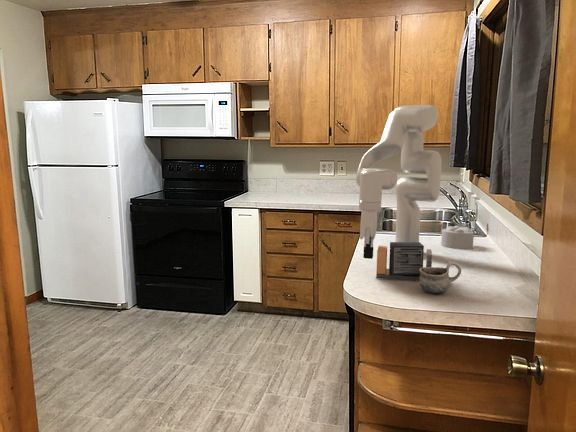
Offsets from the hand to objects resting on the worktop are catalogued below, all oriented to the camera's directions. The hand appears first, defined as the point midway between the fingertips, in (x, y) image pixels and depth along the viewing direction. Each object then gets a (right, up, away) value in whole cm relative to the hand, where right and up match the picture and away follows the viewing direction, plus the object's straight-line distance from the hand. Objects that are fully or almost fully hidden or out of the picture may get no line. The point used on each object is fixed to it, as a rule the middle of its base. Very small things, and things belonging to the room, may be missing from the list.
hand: (368, 257), depth 168 cm
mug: (+19, -9, -17) cm, 27 cm away
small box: (+13, -5, -2) cm, 14 cm away
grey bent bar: (+13, -7, -2) cm, 14 cm away
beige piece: (+47, +1, +45) cm, 65 cm away
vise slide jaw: (+5, -4, 0) cm, 6 cm away
